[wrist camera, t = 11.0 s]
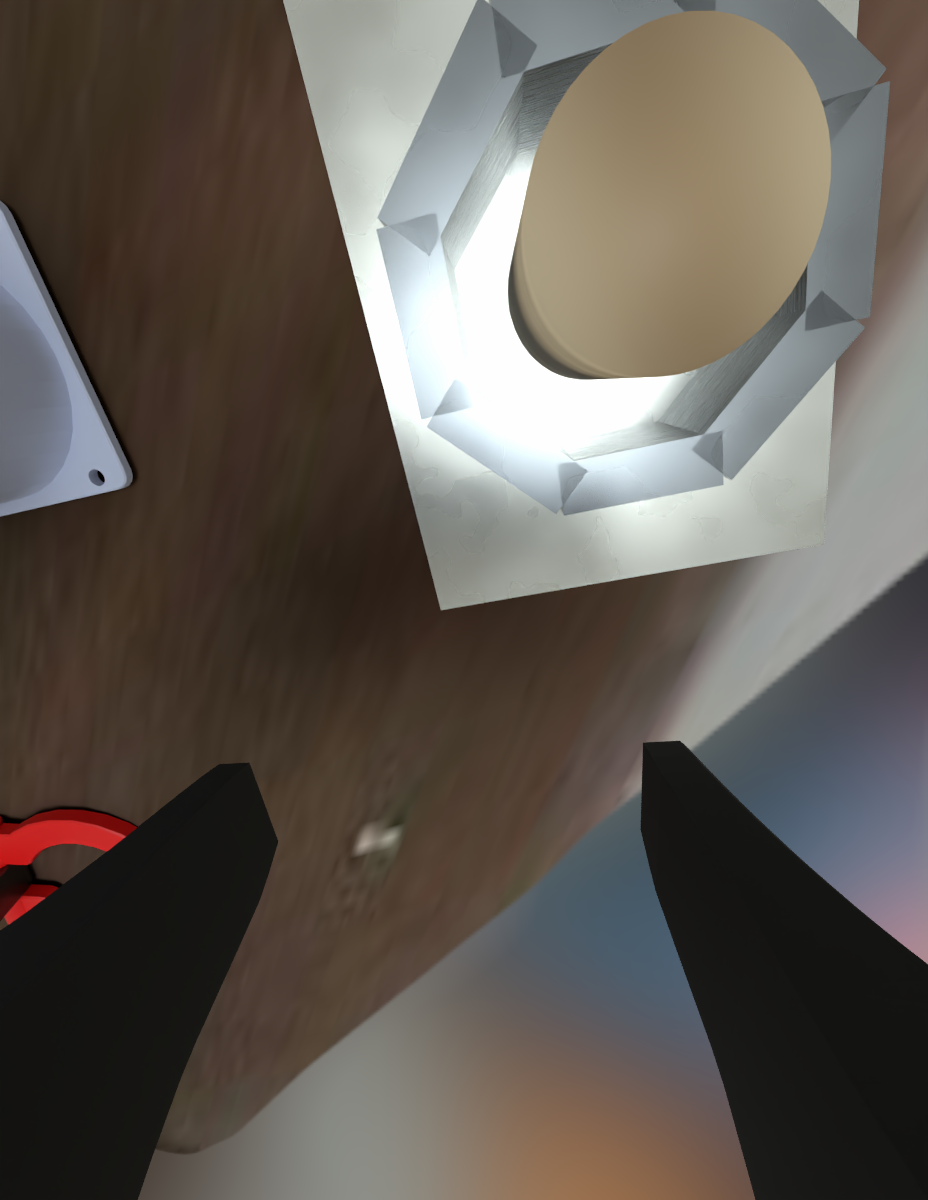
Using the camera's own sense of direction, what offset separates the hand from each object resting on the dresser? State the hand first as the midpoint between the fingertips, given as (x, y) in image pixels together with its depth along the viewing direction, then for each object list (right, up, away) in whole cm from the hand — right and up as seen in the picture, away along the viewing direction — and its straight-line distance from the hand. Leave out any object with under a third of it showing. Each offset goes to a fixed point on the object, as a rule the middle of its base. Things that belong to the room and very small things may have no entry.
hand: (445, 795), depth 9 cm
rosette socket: (+4, +12, +5) cm, 13 cm away
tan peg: (+4, +12, +4) cm, 13 cm away
